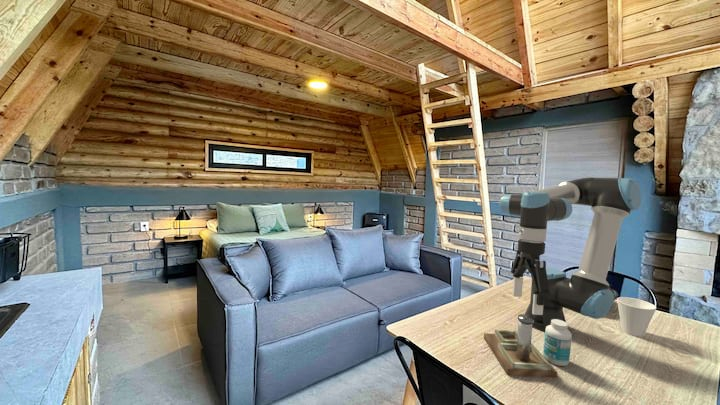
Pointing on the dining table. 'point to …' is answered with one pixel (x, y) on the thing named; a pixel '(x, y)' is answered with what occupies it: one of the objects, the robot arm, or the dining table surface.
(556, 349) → the pill bottle
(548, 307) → the robot arm
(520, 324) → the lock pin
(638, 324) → the cup
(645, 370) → the dining table surface
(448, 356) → the dining table surface
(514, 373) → the dock board
